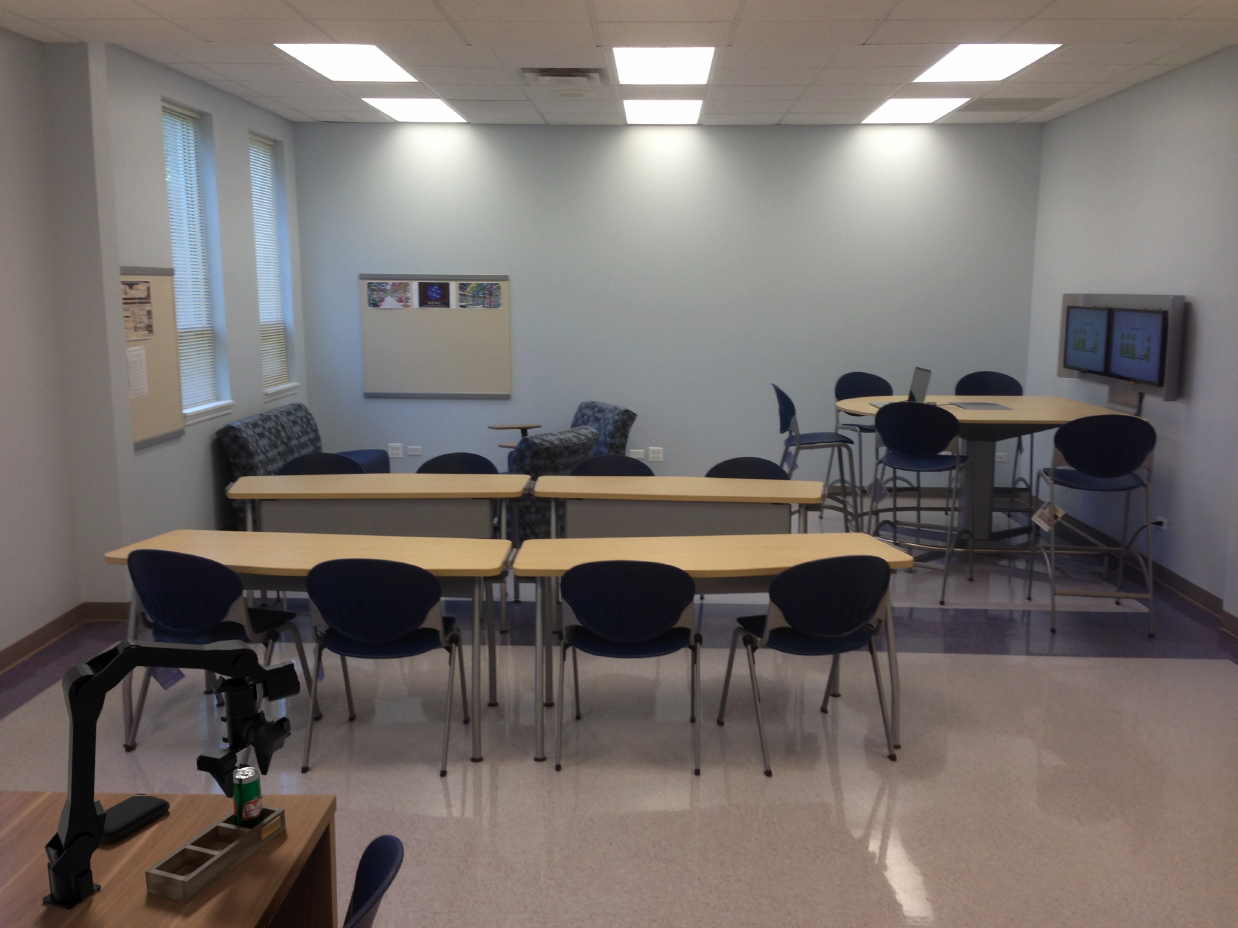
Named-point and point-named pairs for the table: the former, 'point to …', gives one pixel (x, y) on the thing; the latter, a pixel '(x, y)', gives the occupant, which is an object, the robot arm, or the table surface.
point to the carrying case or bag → (132, 816)
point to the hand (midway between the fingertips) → (247, 785)
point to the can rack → (211, 855)
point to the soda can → (247, 798)
